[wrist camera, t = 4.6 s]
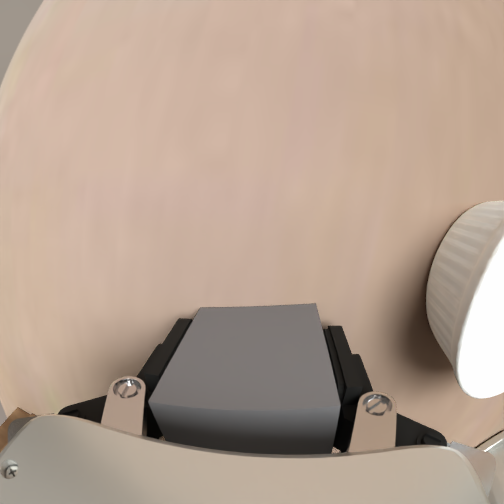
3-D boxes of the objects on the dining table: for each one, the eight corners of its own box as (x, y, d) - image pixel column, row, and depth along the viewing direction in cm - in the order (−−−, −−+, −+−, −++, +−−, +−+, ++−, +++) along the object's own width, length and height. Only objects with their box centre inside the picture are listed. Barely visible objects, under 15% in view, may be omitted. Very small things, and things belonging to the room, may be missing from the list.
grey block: (315, 303, 12) (340, 405, 6) (306, 464, 15) (307, 535, 9) (200, 307, 12) (148, 401, 6) (234, 465, 16) (222, 534, 10)
